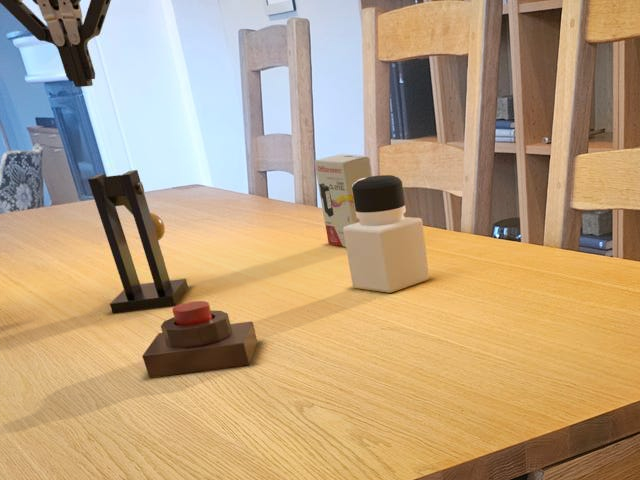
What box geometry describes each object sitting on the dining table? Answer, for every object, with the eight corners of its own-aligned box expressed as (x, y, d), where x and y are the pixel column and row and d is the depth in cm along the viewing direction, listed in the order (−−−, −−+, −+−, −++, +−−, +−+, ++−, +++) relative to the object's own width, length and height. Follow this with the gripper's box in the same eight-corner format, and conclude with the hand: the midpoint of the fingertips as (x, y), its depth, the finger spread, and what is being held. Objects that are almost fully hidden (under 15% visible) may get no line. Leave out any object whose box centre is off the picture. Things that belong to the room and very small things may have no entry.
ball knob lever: (144, 246, 117) (140, 220, 116) (170, 243, 117) (165, 217, 116) (101, 203, 102) (96, 172, 101) (131, 199, 102) (125, 168, 101)
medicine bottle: (430, 279, 105) (417, 172, 98) (389, 293, 101) (373, 183, 94) (392, 274, 109) (377, 171, 102) (351, 288, 105) (333, 181, 98)
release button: (174, 330, 82) (168, 312, 81) (180, 321, 85) (175, 303, 84) (210, 326, 82) (205, 308, 81) (215, 316, 85) (211, 299, 84)
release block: (149, 377, 82) (135, 337, 80) (164, 353, 89) (152, 315, 87) (249, 365, 83) (238, 324, 80) (257, 342, 89) (248, 303, 87)
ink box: (327, 244, 131) (311, 159, 124) (353, 238, 133) (339, 154, 126) (356, 249, 125) (341, 160, 118) (383, 243, 128) (370, 155, 121)
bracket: (130, 294, 114) (91, 173, 106) (188, 287, 115) (153, 165, 106) (112, 313, 106) (68, 183, 98) (175, 305, 107) (136, 175, 98)
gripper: (98, -119, 87) (150, 79, 97) (-29, -107, 87) (37, 91, 97) (76, -131, 81) (134, 81, 91) (-60, -118, 81) (13, 93, 91)
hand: (84, 86), depth 94 cm, fingers closed
